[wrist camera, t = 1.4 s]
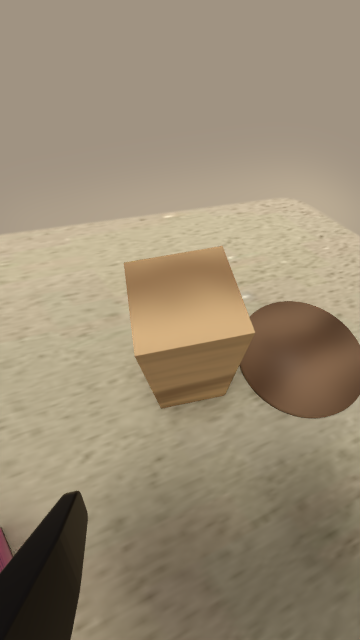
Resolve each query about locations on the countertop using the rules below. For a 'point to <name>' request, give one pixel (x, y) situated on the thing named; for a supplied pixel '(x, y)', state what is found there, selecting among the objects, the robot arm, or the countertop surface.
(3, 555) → the box
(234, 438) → the countertop surface
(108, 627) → the countertop surface
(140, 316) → the oak block
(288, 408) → the coaster
